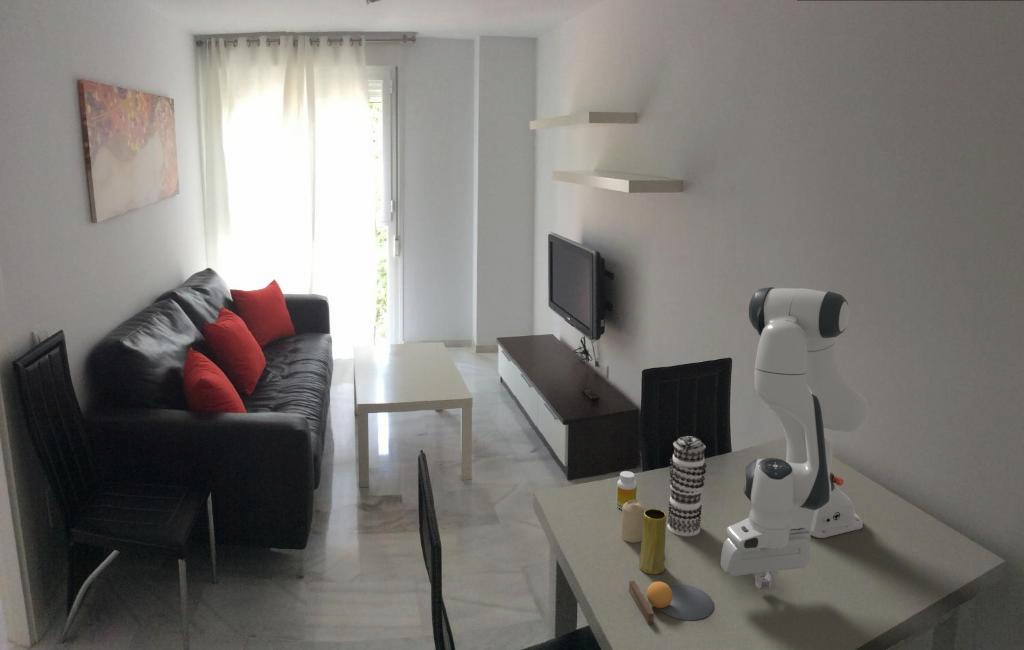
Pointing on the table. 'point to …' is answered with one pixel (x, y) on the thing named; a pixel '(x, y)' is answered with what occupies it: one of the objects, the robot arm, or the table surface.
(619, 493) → the supplement bottle
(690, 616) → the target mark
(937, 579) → the table surface
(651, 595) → the ball
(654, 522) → the vase
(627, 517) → the candle
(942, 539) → the table surface
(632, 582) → the stopper strip
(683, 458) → the decorative candle
